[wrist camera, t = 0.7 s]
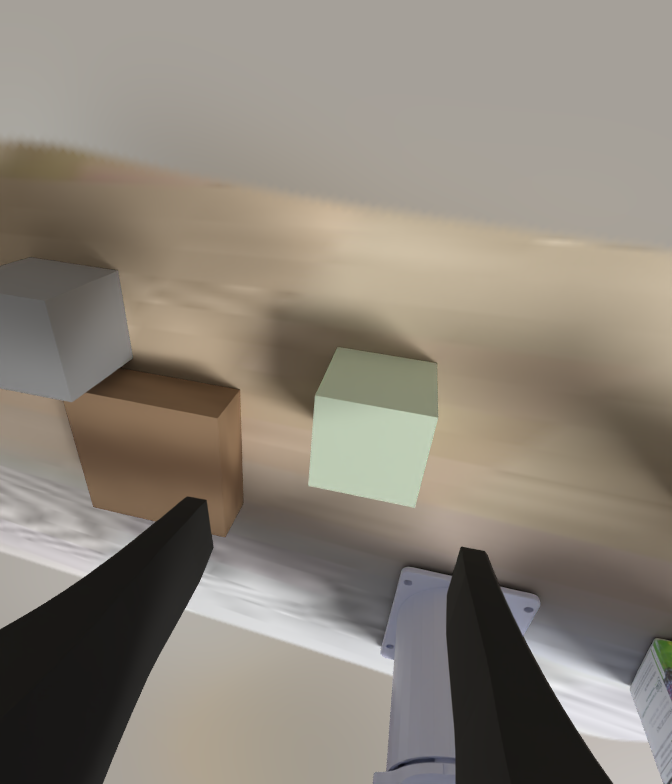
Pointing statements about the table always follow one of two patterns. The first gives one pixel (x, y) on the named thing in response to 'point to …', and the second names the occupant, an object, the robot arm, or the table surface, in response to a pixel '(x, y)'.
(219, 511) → the walnut block
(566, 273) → the table surface
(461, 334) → the table surface
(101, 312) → the grey block
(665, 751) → the syrup box
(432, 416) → the sage block
